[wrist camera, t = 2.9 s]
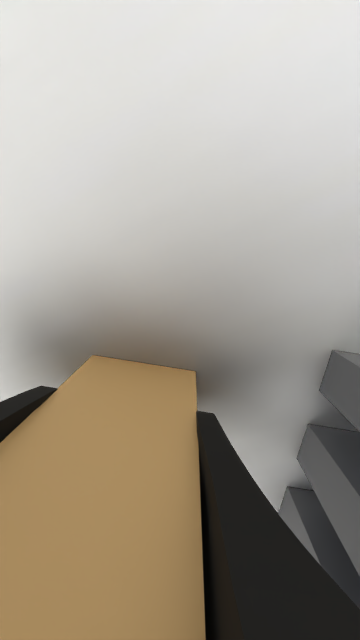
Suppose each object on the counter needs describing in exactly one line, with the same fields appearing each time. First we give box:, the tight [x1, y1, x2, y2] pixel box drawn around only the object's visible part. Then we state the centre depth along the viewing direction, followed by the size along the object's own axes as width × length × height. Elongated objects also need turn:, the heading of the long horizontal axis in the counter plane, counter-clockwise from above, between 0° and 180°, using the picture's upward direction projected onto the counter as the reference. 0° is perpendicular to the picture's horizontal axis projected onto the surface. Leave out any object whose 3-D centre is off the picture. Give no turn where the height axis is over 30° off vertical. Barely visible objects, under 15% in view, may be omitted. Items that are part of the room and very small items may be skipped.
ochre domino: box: [0, 355, 206, 640], centre depth 7 cm, size 5×2×9 cm, turn 82°
